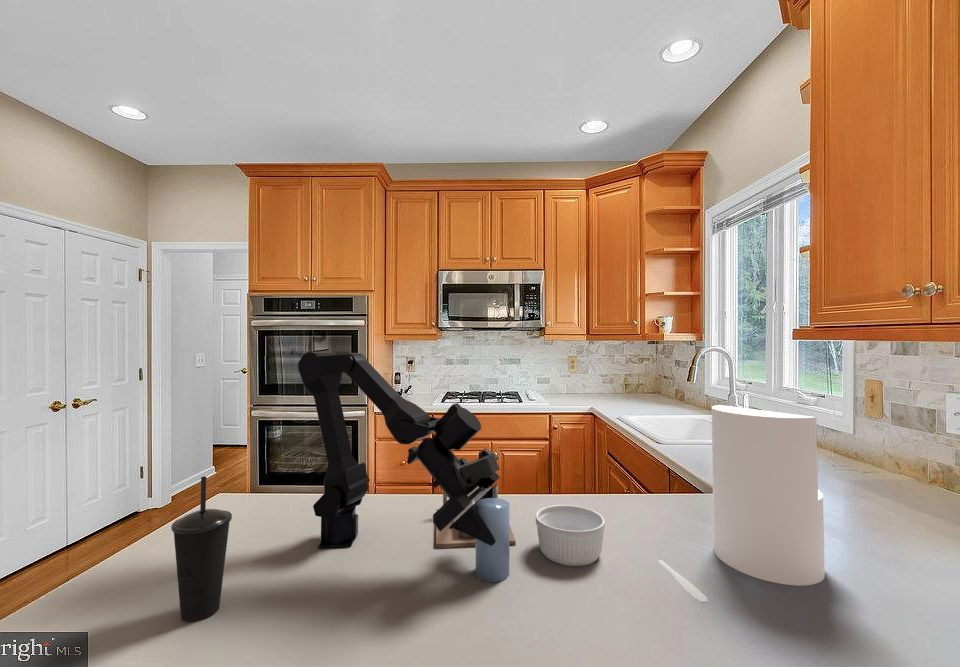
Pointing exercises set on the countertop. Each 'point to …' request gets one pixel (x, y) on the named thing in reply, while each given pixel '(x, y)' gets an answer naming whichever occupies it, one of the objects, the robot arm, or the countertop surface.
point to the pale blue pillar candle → (496, 557)
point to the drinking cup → (200, 559)
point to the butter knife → (685, 583)
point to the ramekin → (570, 534)
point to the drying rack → (460, 534)
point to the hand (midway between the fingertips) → (499, 536)
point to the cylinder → (767, 495)
